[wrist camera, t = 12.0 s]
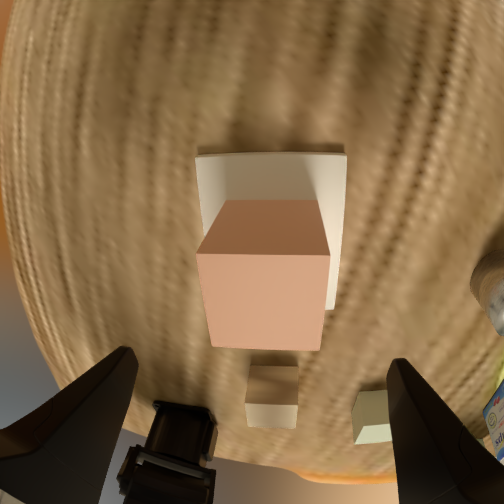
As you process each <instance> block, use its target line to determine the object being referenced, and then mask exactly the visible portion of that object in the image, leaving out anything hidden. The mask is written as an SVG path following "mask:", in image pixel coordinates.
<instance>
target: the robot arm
mask: <svg viewBox="0 0 504 504" xmlns="http://www.w3.org/2000/svg"><path fill="white" fill-rule="evenodd" d="M138 367H139V364H138V360H137V358H136V356H135V353H134V351H133V349H132V348H131V347H127V346H120V347H118V348H117V349H116V350H114V351H113V352H112V353H110V354H109V355H108V356H106V357H105V358H104V359H102V360H101V361H100V362H98V363H97V364H96V365H94V366H93V367H92V368H90V369H89V370H88V371H86V372H85V373H84V374H82V375H81V376H80V377H79V378H77V379H76V380H75V381H73V382H72V383H71V384H69V385H68V386H67V387H65V388H64V389H63V390H61V391H60V392H59V393H57V394H56V395H55V396H54V397H52V398H51V399H49V400H48V401H47V402H45V403H44V404H42V405H41V406H40V407H38V408H37V409H35V410H34V411H32V412H31V413H29V414H28V415H26V416H24V417H23V418H21V419H20V420H18V421H16V422H14V423H13V424H11V425H10V426H8V427H6V428H3V429H0V504H98V503H99V499H100V496H101V491H102V488H103V485H104V481H105V478H106V475H107V471H108V468H109V465H110V462H111V458H112V455H113V452H114V449H115V446H116V443H117V440H118V437H119V433H120V431H121V428H122V425H123V422H124V419H125V416H126V413H127V410H128V407H129V404H130V401H131V397H132V393H133V388H134V384H135V380H136V376H137V371H138ZM386 380H387V395H388V413H389V423H390V429H391V436H392V443H393V450H394V457H395V466H396V474H397V484H398V494H399V504H504V465H503V464H501V463H500V462H499V461H498V460H497V459H496V458H495V457H494V456H493V455H492V454H491V453H490V452H489V451H488V450H487V449H486V448H485V447H484V446H483V445H482V444H481V443H480V442H479V441H478V440H477V439H476V438H475V437H474V436H473V434H472V433H471V432H470V431H469V430H468V429H467V428H466V426H465V425H463V423H462V422H461V421H460V419H459V418H458V417H457V416H456V415H455V414H454V412H453V411H452V410H451V409H450V408H449V407H448V405H447V404H446V403H445V402H444V401H443V400H442V399H441V397H440V396H439V395H438V394H437V393H436V392H435V391H434V390H433V388H432V387H431V386H430V385H429V384H428V383H427V382H426V381H425V379H424V378H423V377H422V376H421V375H420V374H419V373H418V372H417V370H416V369H415V368H414V367H413V366H412V365H411V364H410V363H409V362H408V361H407V360H406V359H405V358H395V359H393V361H392V363H391V365H390V368H389V370H388V373H387V378H386ZM152 405H153V407H154V409H155V411H156V415H155V418H154V420H153V423H152V426H151V429H150V431H149V434H148V437H147V440H146V443H145V446H144V447H141V445H138V444H137V445H136V447H131V446H130V448H129V451H128V453H127V456H126V458H125V460H124V463H123V464H122V466H121V469H120V471H119V473H118V475H117V478H116V479H117V481H118V483H119V484H120V485H119V488H120V491H119V494H121V495H124V496H125V499H124V502H123V504H213V498H214V488H215V477H216V470H215V469H208V468H205V467H206V463H207V461H212V459H213V454H214V450H215V445H216V441H217V436H218V430H217V427H216V424H215V423H214V421H213V420H212V417H211V413H210V411H209V410H208V409H205V408H198V407H191V406H184V405H177V404H171V403H166V402H160V401H154V402H153V404H152ZM138 462H141V463H143V464H142V465H140V464H137V463H138Z"/></svg>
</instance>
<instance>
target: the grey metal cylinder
mask: <svg viewBox="0 0 504 504" xmlns="http://www.w3.org/2000/svg"><path fill="white" fill-rule="evenodd" d="M470 289H471V292H472V294H473V295H474V297H475V298H476V300H477V301H478V303H479V304H480V306H481V307H482V309H483V310H484V312H485V313H486V315H487V317H488V318H489V320H490V321H491V323H492V325H493V326H494V328H495V330H496V331H497V333H498V334H499V335H501V336H504V250H496V251H493V252H491V253H489V254H488V255H486V256H485V257H484V258H483V259H482V260H481V261H480V262H479V263H478V265H477V266H476V268H475V269H474V272H473V274H472V277H471V281H470Z"/></svg>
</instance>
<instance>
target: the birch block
mask: <svg viewBox="0 0 504 504" xmlns="http://www.w3.org/2000/svg"><path fill="white" fill-rule="evenodd" d="M298 377H299V367H291V366H258V365H251V366H250V372H249V379H248V385H247V391H246V398H245V409H246V416H247V423H248V427H263V428H292V429H295V426H296V418H297V409H298Z"/></svg>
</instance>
